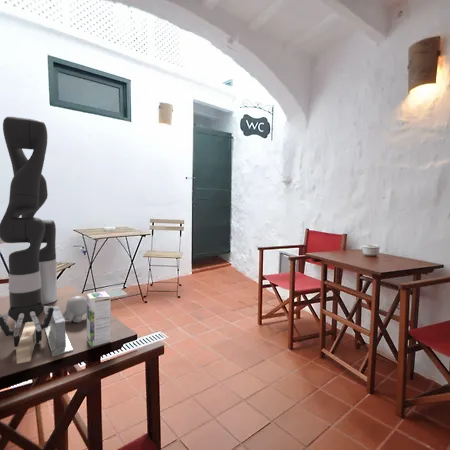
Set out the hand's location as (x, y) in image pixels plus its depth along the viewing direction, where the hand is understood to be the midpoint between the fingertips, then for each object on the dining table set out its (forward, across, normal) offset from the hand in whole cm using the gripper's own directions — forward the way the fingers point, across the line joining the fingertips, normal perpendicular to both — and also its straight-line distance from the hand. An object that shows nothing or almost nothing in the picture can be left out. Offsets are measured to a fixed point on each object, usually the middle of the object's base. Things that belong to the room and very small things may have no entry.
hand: (28, 344), depth 85 cm
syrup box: (+1, -18, +8) cm, 19 cm away
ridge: (0, -8, 0) cm, 8 cm away
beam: (+1, 0, 0) cm, 1 cm away
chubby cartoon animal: (+1, -17, -11) cm, 20 cm away
